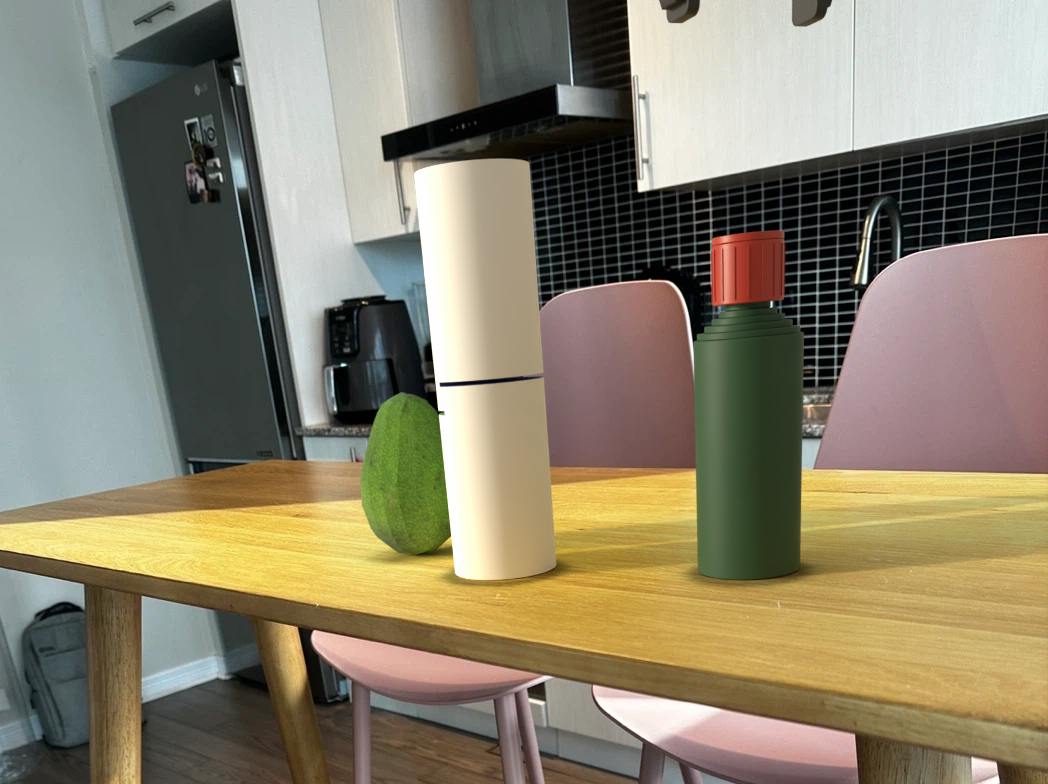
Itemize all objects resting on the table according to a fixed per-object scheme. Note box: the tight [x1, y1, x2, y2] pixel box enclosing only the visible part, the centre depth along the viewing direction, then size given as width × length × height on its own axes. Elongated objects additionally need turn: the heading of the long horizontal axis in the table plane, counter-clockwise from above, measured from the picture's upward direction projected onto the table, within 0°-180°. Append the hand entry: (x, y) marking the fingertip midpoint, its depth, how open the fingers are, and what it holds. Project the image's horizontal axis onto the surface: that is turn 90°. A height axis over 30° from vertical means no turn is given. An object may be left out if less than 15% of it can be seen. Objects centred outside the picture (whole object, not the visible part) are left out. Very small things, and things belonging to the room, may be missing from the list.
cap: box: [710, 230, 786, 307], centre depth 60 cm, size 4×4×4 cm
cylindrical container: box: [413, 158, 557, 581], centre depth 68 cm, size 7×7×25 cm
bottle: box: [692, 301, 805, 581], centre depth 63 cm, size 6×6×19 cm
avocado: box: [359, 391, 452, 556], centre depth 78 cm, size 8×8×12 cm
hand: (748, 20), depth 55 cm, fingers open, 7 cm apart
